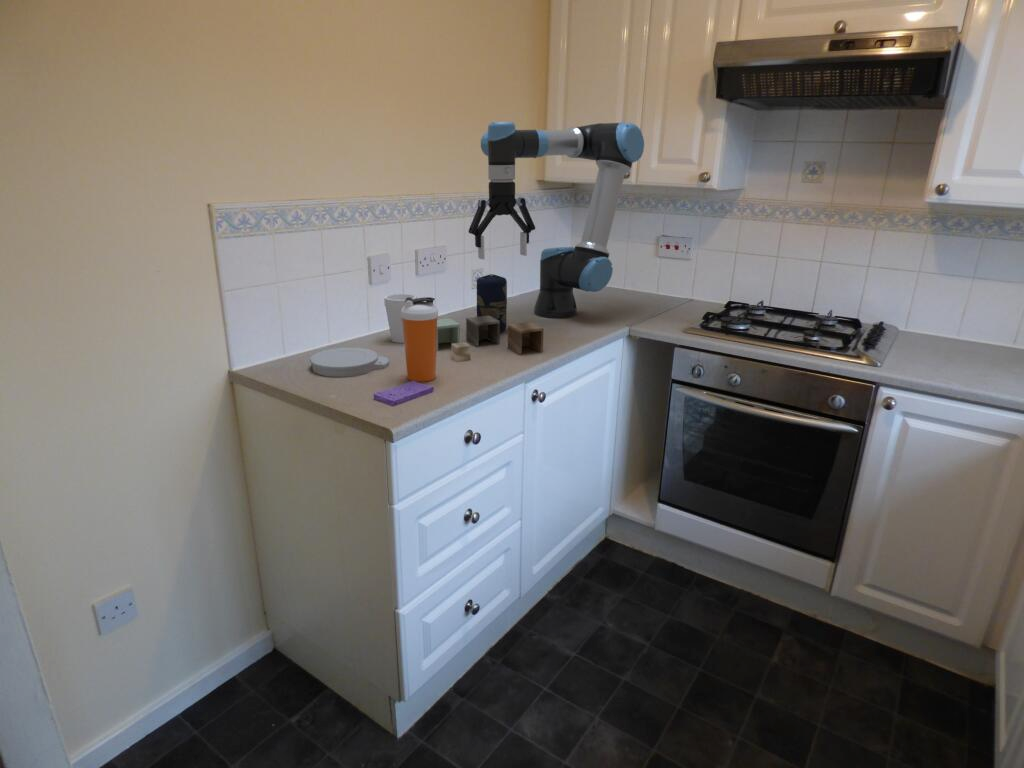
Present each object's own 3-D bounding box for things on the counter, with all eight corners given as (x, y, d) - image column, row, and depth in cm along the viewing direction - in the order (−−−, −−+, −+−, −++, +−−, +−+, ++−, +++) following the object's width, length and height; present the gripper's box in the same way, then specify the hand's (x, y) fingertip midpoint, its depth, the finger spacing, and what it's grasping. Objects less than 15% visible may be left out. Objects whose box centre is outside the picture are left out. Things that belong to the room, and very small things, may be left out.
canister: (502, 335, 200) (503, 277, 194) (473, 333, 202) (473, 276, 196) (509, 328, 209) (510, 272, 203) (480, 326, 211) (480, 271, 204)
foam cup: (408, 345, 188) (406, 301, 184) (380, 342, 191) (378, 298, 187) (423, 337, 196) (422, 295, 192) (396, 334, 199) (394, 292, 195)
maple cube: (465, 356, 180) (464, 342, 178) (470, 360, 176) (470, 345, 175) (451, 357, 178) (451, 343, 177) (456, 361, 175) (456, 347, 173)
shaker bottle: (442, 381, 159) (440, 301, 152) (406, 384, 157) (402, 303, 150) (436, 370, 167) (434, 294, 160) (401, 373, 165) (398, 295, 158)
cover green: (450, 341, 193) (450, 318, 191) (460, 347, 187) (460, 324, 184) (427, 344, 190) (426, 320, 188) (435, 350, 184) (435, 326, 181)
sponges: (373, 401, 147) (372, 393, 147) (413, 386, 157) (413, 379, 156) (394, 408, 143) (393, 400, 143) (434, 393, 153) (434, 385, 152)
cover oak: (489, 337, 197) (489, 315, 195) (499, 344, 191) (499, 321, 189) (466, 340, 194) (466, 317, 192) (476, 347, 188) (476, 323, 185)
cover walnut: (530, 345, 191) (531, 322, 188) (542, 351, 184) (543, 328, 182) (507, 347, 187) (507, 324, 185) (519, 354, 181) (519, 330, 179)
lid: (392, 375, 164) (391, 363, 163) (310, 380, 159) (309, 369, 158) (386, 355, 180) (386, 345, 179) (311, 360, 175) (310, 349, 174)
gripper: (465, 183, 173) (468, 262, 181) (547, 180, 184) (546, 255, 191) (455, 181, 180) (458, 258, 187) (534, 178, 190) (534, 251, 197)
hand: (502, 256), depth 189 cm, fingers open, 13 cm apart
